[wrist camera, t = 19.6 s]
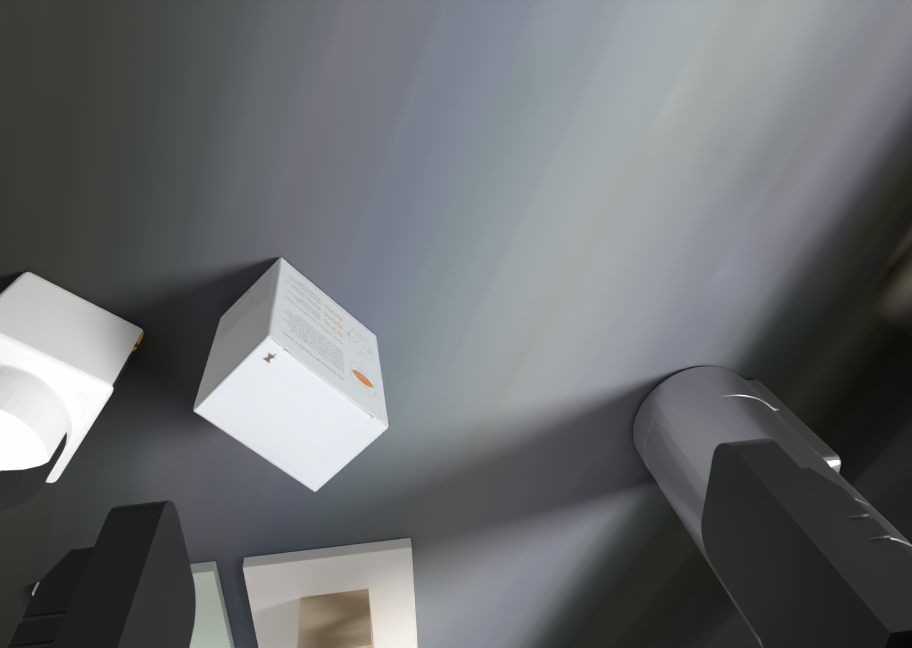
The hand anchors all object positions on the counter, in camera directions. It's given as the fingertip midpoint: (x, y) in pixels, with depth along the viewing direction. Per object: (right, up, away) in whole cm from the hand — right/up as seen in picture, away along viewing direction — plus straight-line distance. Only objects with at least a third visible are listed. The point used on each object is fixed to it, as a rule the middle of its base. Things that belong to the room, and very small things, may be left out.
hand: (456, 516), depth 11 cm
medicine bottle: (-23, +2, +32) cm, 39 cm away
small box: (-10, +3, +33) cm, 35 cm away
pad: (-9, -19, +44) cm, 48 cm away
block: (-9, -19, +43) cm, 48 cm away
